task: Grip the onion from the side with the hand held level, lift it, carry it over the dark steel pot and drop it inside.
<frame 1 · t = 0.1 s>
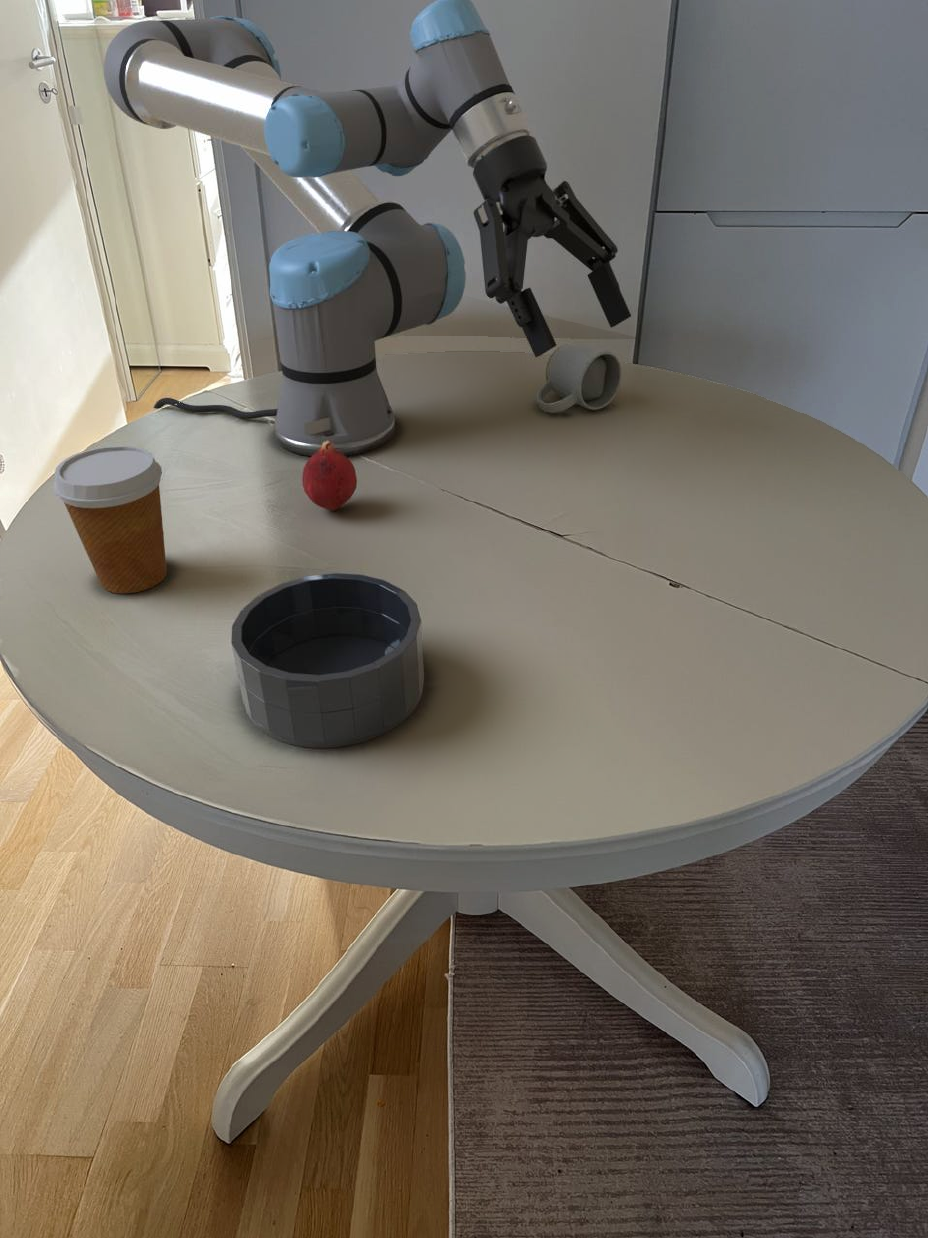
hand: (585, 336, 101), 15 cm above the table, tool tilted 35°, fingers open, 13 cm apart
ceramic mug: (574, 405, 125), on the table
onion: (333, 511, 101), on the table
disposable coffee cup: (134, 578, 90), on the table
pot: (334, 687, 75), on the table
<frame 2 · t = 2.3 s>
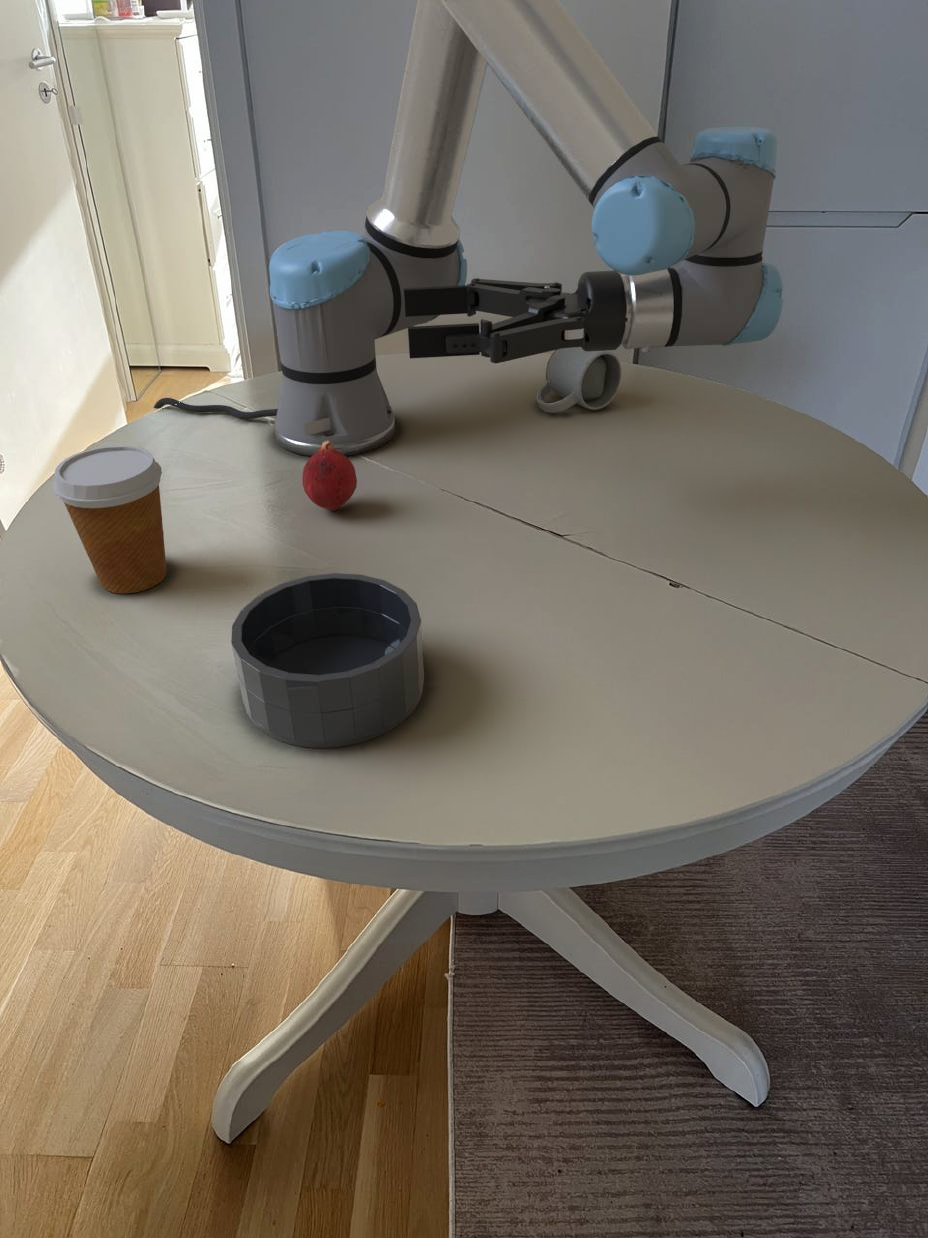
hand: (406, 321, 90), 20 cm above the table, tool horizontal, fingers open, 13 cm apart
nothing on the table moved.
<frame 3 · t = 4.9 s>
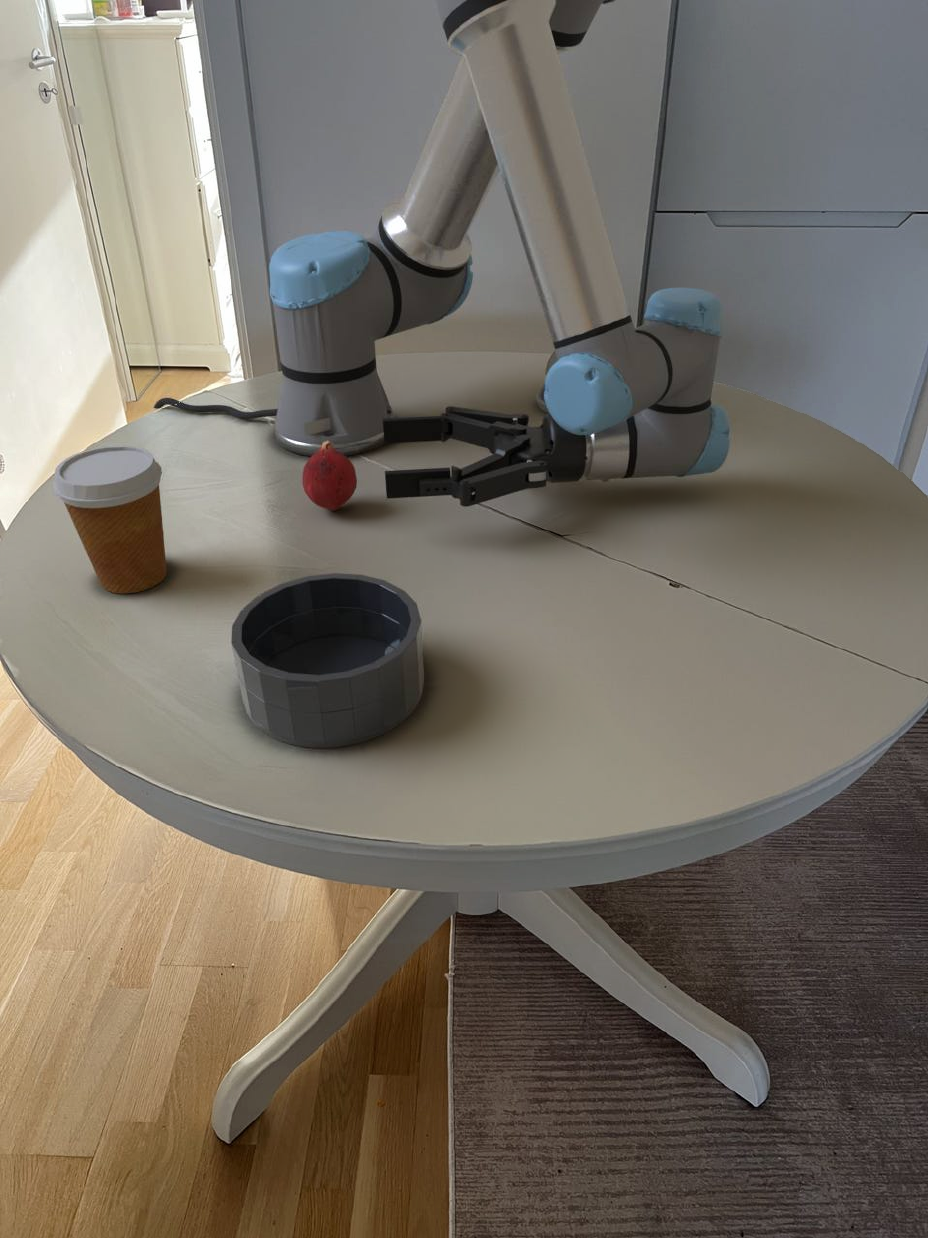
hand: (384, 456, 98), 6 cm above the table, tool horizontal, fingers open, 13 cm apart
nothing on the table moved.
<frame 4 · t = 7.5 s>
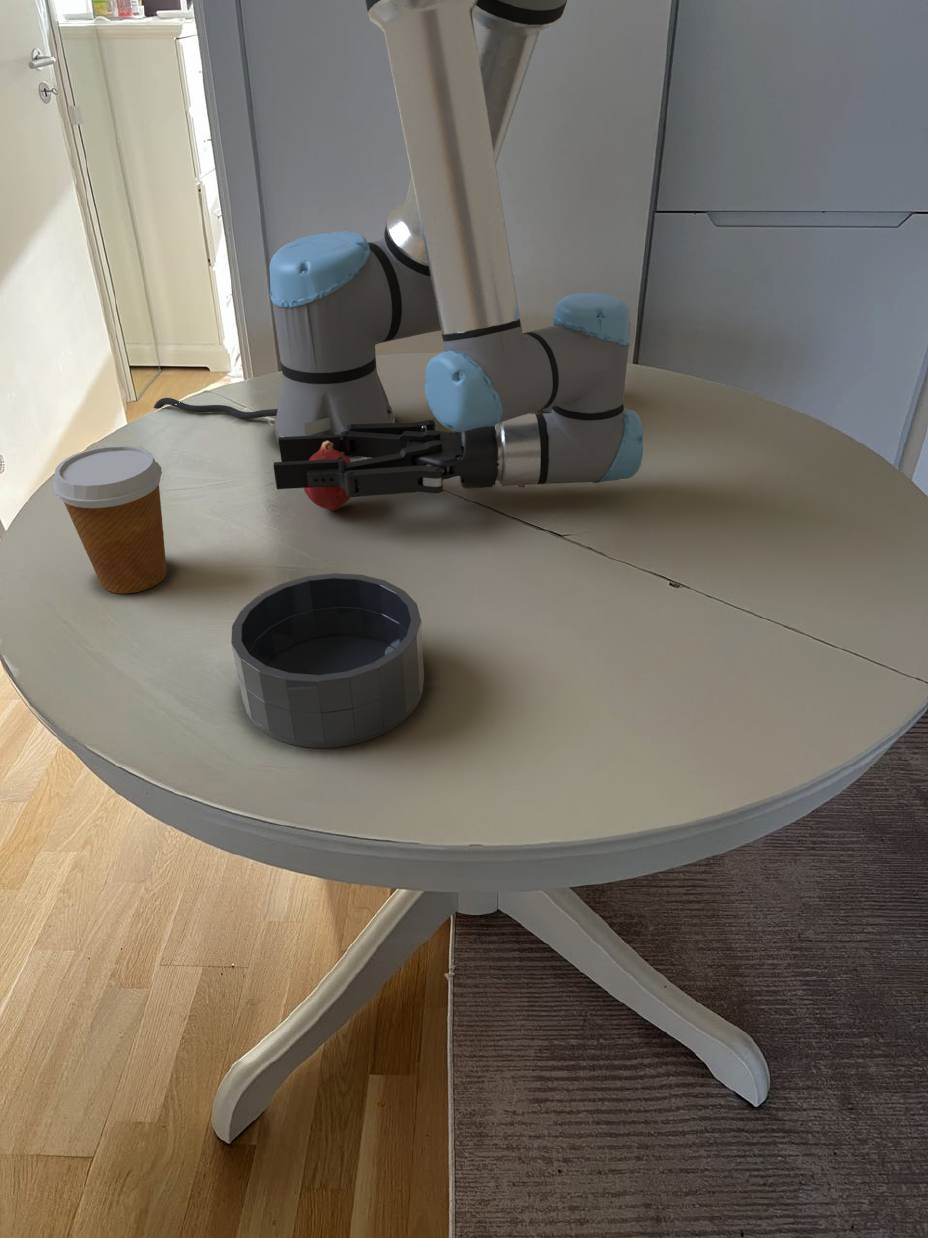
hand: (278, 462, 97), 6 cm above the table, tool horizontal, fingers closed on onion, 6 cm apart
onion: (333, 511, 101), on the table, touching gripper
everything else where it was.
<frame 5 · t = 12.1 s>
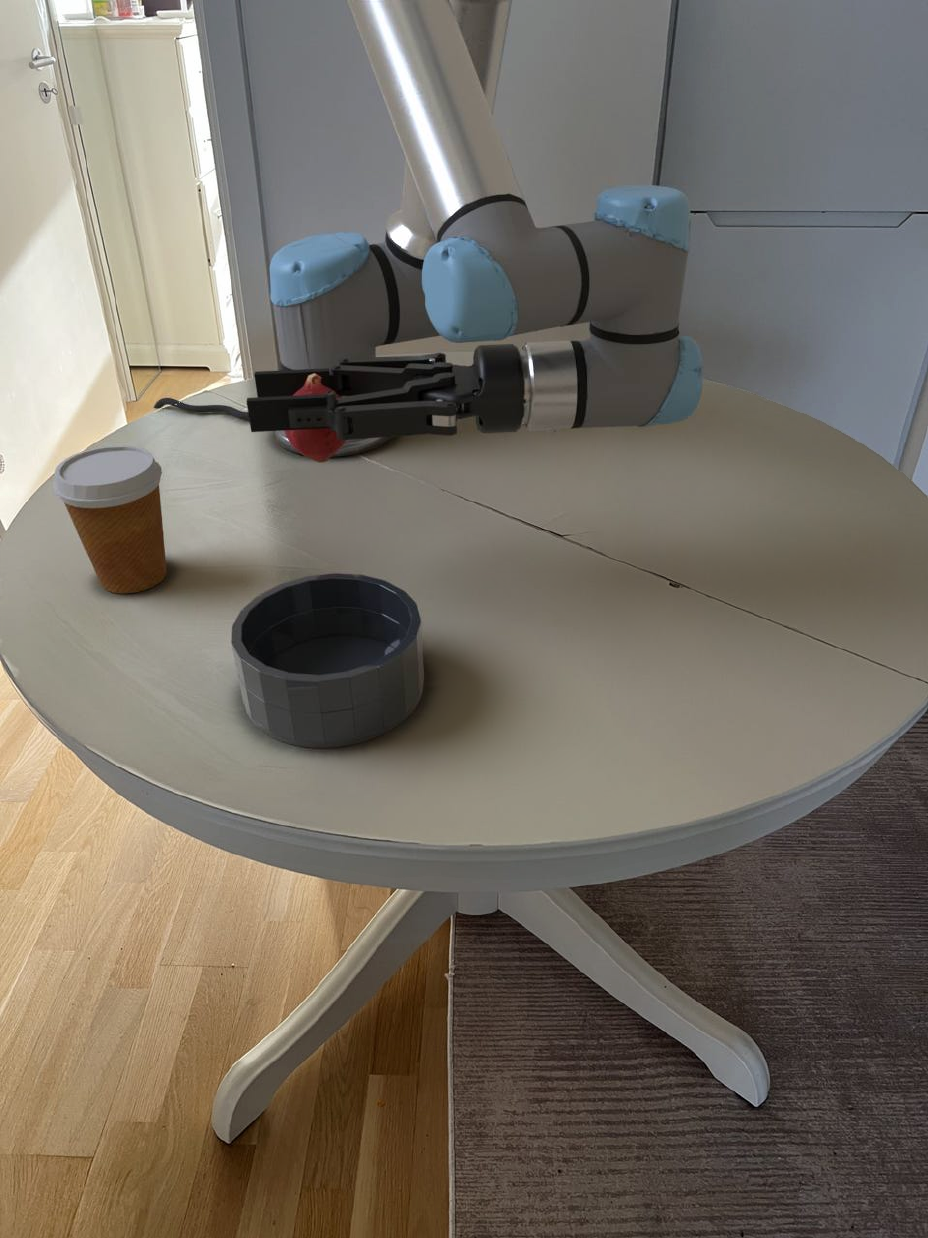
hand: (253, 400, 79), 18 cm above the table, tool horizontal, fingers closed on onion, 6 cm apart
onion: (321, 463, 83), point 12 cm above the table, touching gripper
everything else where it was.
when the fingers open (10 cm above the table, at t = 17.0 s): onion drops 3 cm, resting on pot.
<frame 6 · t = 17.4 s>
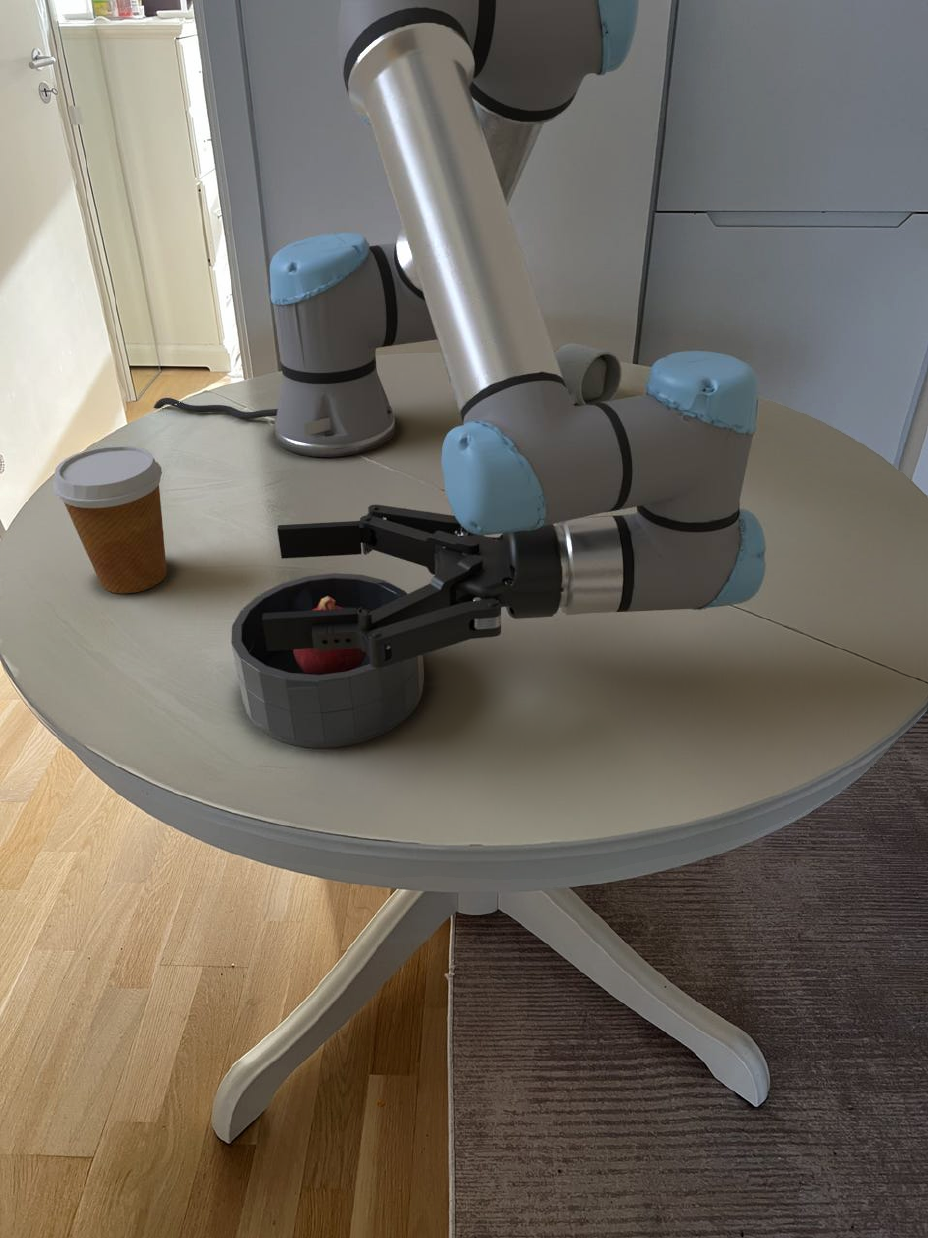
hand: (272, 583, 69), 10 cm above the table, tool horizontal, fingers open, 12 cm apart
onion: (334, 683, 75), resting on pot
everything else where it was.
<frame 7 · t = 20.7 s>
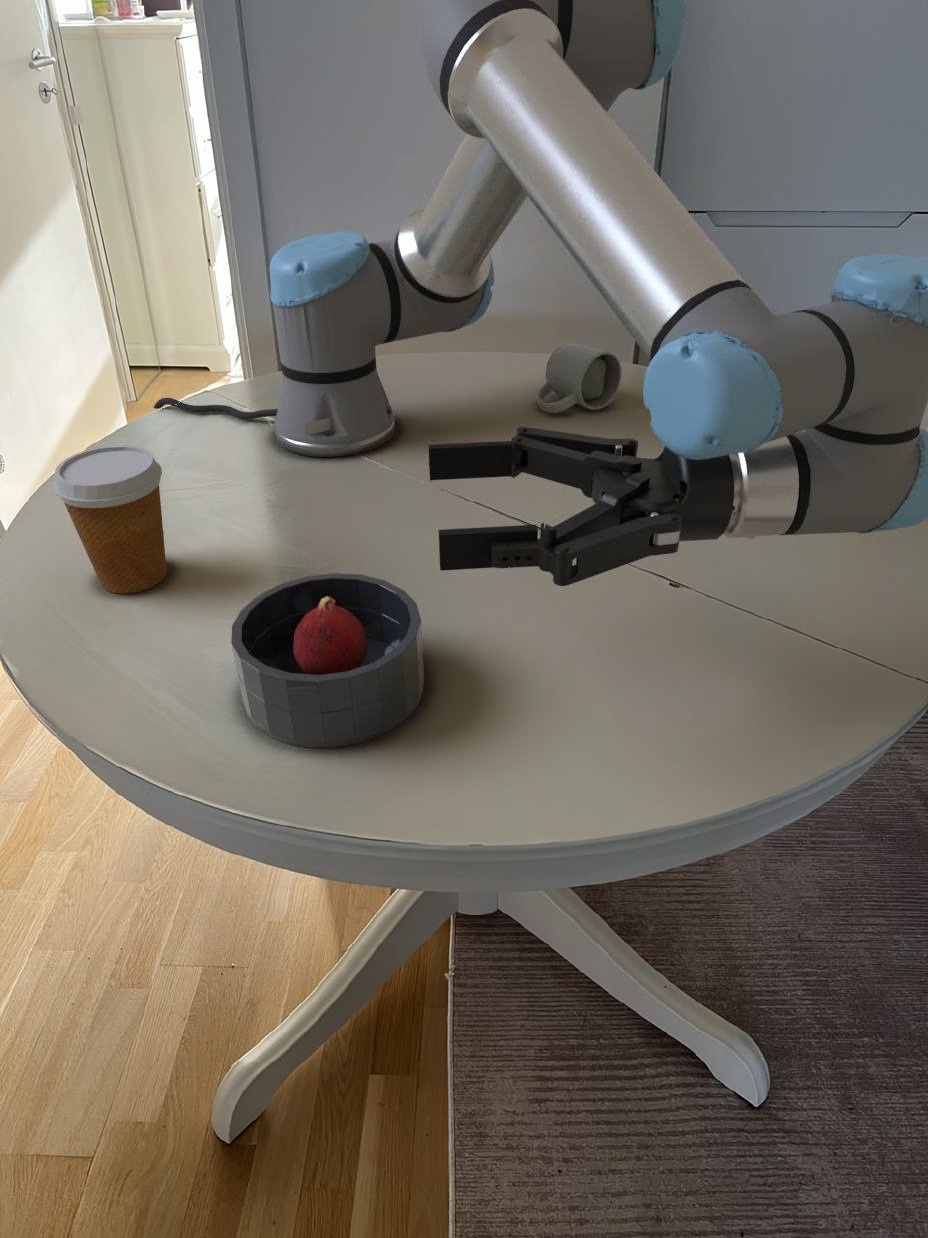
hand: (433, 502, 67), 16 cm above the table, tool horizontal, fingers open, 13 cm apart
nothing on the table moved.
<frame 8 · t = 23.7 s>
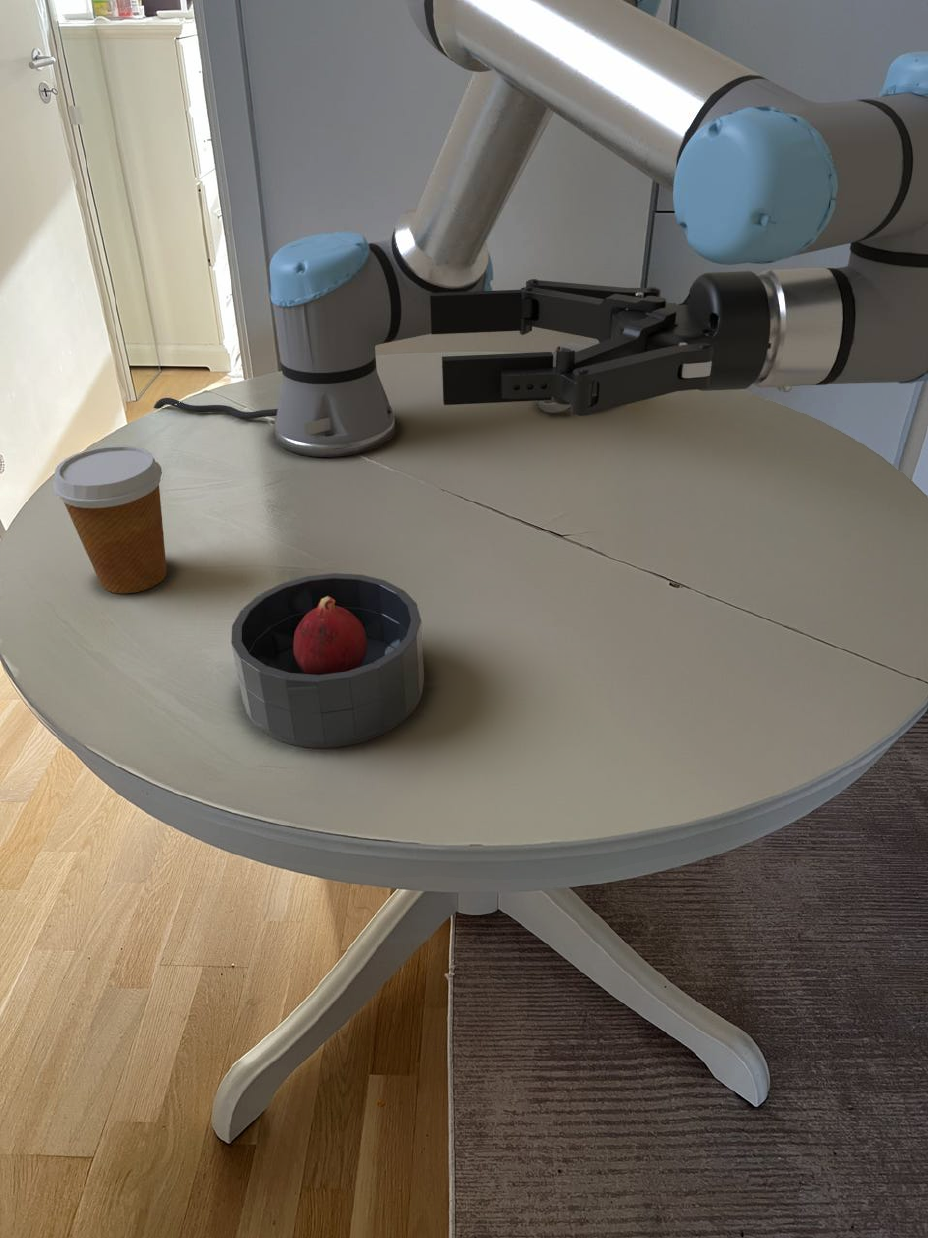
hand: (435, 344, 60), 28 cm above the table, tool horizontal, fingers open, 13 cm apart
nothing on the table moved.
at the end: onion inside the target area in the pot (0.1 cm from its centre), point 0.4 cm above the pot's base; the gripper is holding nothing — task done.
